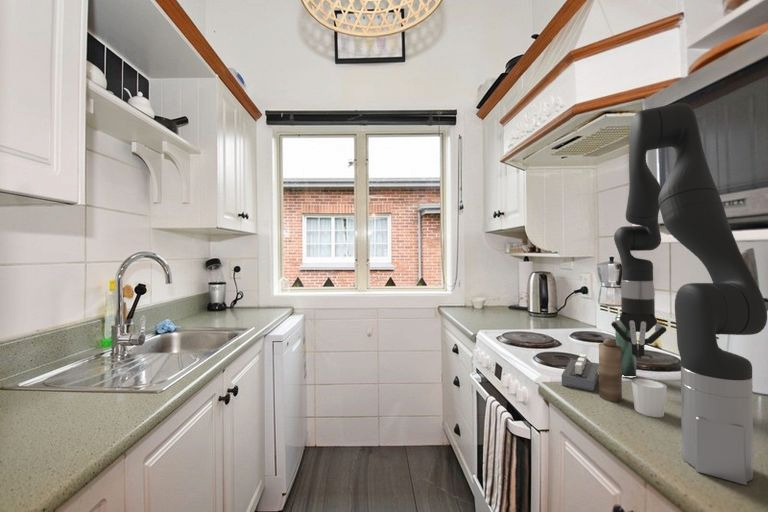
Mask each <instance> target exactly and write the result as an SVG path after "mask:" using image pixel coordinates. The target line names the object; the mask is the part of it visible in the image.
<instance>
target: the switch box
mask: <svg viewBox="0 0 768 512" xmlns="http://www.w3.org/2000/svg"><path fill="white" fill-rule="evenodd" d="M577 360H578V359H572V358H570V359H569V361H568V362H567V365H566V366H565V368H564V370H563V372H562V374H561V386H562V387H563V386H564V387H567V388H568V387H569V388H573V389H579V390H585V391H589V392H594V391H595V388H596V385H597V381H598V378H599V375H598V373H599V362H592V361H587V363H586V365H585V367H584V370H583V372H582V374H576V373H575V364H576V362H577ZM597 377H598V378H597Z"/></svg>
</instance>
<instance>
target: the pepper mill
mask: <svg viewBox="0 0 768 512" xmlns="http://www.w3.org/2000/svg"><path fill="white" fill-rule="evenodd" d="M598 363H599V375H598V383H599V385H598V387H599V388H598V389H599V390H598V391H599V393H598V394H599V398H600V399H603V400H604V401H608V402H612V403H613V402H614V403H619V402H622V400H623V399H622V398H623V388H622V387H623V386H622V385H623V384H622V383H623V382H622V381H623V380H622V379H623V377H622V367H621V346H619V345H617V344H616V339H614V338H611V337H607V338H605V339H604V340H603V341H602V342H601V343H598Z"/></svg>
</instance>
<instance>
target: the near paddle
mask: <svg viewBox="0 0 768 512" xmlns="http://www.w3.org/2000/svg"><path fill="white" fill-rule="evenodd" d="M582 372H583V363H580V362H576V364H575V373H576V374H582Z"/></svg>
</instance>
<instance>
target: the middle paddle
mask: <svg viewBox="0 0 768 512" xmlns="http://www.w3.org/2000/svg"><path fill="white" fill-rule="evenodd" d="M576 360H577V362H580V363H583V370H584V367H585V358H580V357H578V358H577V359H576Z"/></svg>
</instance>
